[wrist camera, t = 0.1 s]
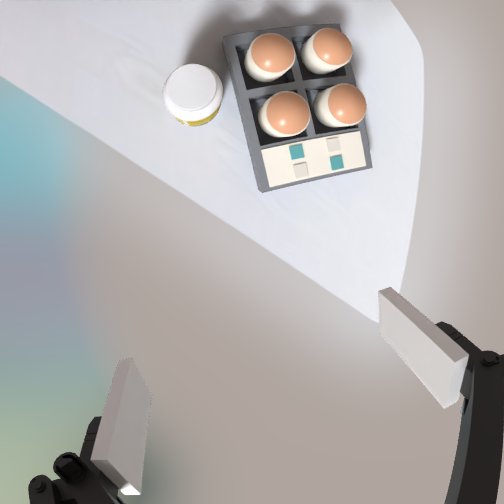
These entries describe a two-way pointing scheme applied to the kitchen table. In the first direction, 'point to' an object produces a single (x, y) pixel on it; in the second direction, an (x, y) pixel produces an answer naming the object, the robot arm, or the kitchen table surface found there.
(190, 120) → the pill bottle
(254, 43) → the button
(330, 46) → the button
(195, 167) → the kitchen table surface
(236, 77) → the board
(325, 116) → the button
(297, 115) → the button
